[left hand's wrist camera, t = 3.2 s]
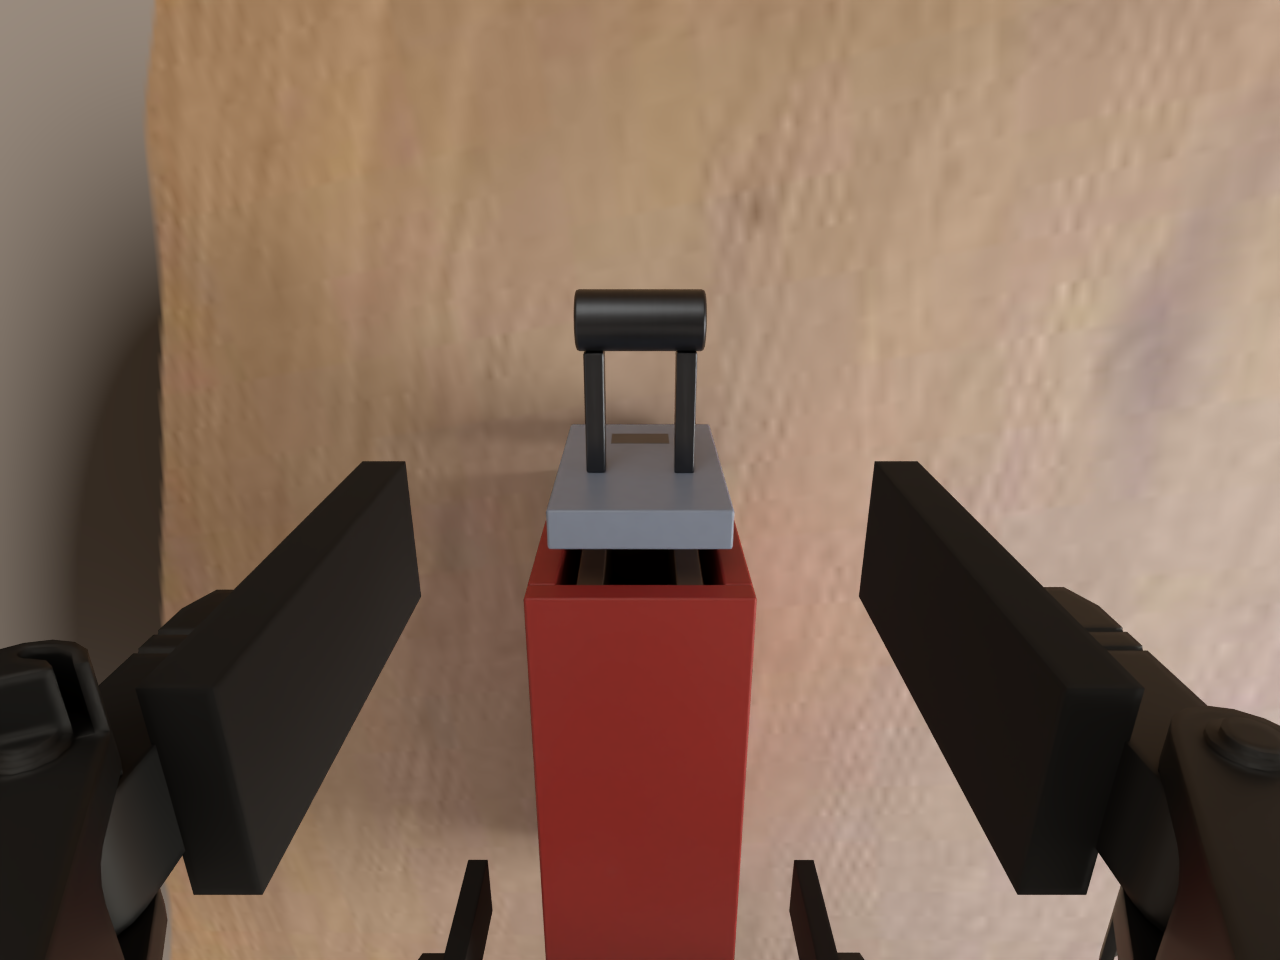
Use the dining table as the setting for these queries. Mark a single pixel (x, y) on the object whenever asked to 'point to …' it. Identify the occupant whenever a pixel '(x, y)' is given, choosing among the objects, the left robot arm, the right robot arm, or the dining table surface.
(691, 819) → the red box housing
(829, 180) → the dining table surface
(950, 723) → the left robot arm
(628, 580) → the drawer
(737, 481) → the dining table surface
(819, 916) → the right robot arm
